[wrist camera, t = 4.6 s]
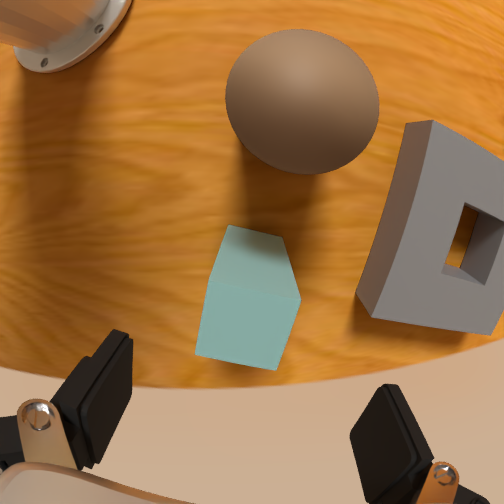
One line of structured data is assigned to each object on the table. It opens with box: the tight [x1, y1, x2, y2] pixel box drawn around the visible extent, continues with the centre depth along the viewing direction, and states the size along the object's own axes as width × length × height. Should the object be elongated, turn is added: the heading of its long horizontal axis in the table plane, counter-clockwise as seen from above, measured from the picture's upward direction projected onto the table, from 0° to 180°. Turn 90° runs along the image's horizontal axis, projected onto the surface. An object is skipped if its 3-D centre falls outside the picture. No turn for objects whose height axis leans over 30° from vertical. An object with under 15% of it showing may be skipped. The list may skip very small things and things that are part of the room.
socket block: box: [355, 120, 504, 335], centre depth 20 cm, size 14×14×4 cm
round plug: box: [225, 29, 379, 175], centre depth 15 cm, size 6×6×10 cm
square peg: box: [195, 225, 301, 371], centre depth 18 cm, size 4×4×10 cm
